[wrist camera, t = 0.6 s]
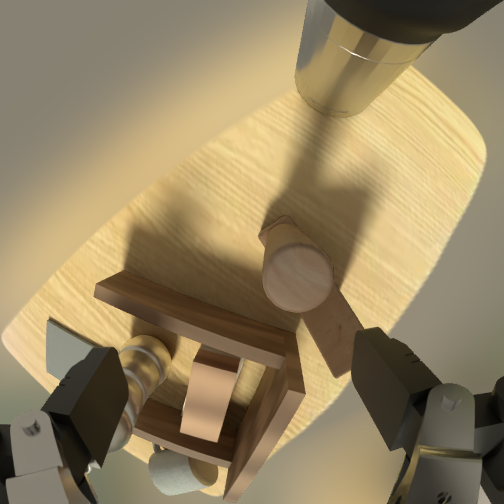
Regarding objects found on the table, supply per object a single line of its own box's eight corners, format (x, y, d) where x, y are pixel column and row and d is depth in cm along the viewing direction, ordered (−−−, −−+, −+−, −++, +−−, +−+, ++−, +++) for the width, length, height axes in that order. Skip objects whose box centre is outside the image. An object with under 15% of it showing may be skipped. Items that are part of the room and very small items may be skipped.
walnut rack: (123, 270, 34) (64, 299, 22) (295, 333, 34) (305, 394, 22) (104, 385, 37) (63, 432, 25) (243, 439, 37) (235, 503, 25)
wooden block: (311, 312, 33) (346, 413, 15) (258, 232, 32) (242, 267, 14) (339, 294, 33) (400, 381, 15) (287, 213, 32) (308, 224, 14)
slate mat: (49, 319, 36) (46, 320, 35) (102, 349, 36) (100, 351, 35) (48, 369, 37) (46, 371, 37) (97, 399, 37) (96, 401, 37)
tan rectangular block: (207, 329, 34) (195, 352, 28) (250, 343, 34) (246, 369, 28) (185, 402, 36) (173, 429, 30) (223, 414, 36) (216, 444, 30)
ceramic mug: (224, 462, 38) (217, 497, 30) (184, 471, 39) (172, 503, 31) (184, 417, 37) (169, 453, 29) (144, 429, 38) (125, 461, 30)
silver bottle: (184, 347, 35) (115, 465, 15) (163, 383, 36) (99, 494, 16) (140, 319, 34) (41, 412, 15) (122, 356, 36) (37, 450, 16)
